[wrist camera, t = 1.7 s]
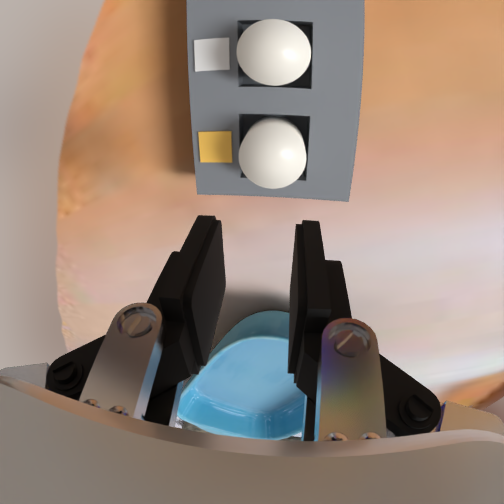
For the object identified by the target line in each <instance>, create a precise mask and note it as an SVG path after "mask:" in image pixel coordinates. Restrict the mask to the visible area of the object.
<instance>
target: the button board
mask: <svg viewBox="0 0 504 504" xmlns="http://www.w3.org/2000/svg"><path fill="white" fill-rule="evenodd" d="M266 19H280V20H284V21H287V22H290V23H292V24H294V25H295V26H297V27H298V28H299V29H300V30H301V31H302V32H303V33H304V34H305V35H306V37H307V39H308V41H309V44H310V47H311V59H310V63H309V65H308V67H307V69H306V71H305V72H304V73H303V74H302V75H301V76H300V77H299V78H297V79H296V80H294V81H293V82H290V83H288V84H284V85H278V86H272V85H265V84H262V83H259V82H257V81H255V80H253V79H251V78H250V77H249V76H248V75H247V74H246V73H245V72H244V71H243V70H242V68H241V67H240V65H239V62H238V59H237V44H238V41H239V39H240V37H241V35H242V34H243V32H244V31H245V30H246V29H247V28H248V27H250V26H251V25H253V24H254V23H256V22H259V21H262V20H266ZM187 47H188V73H189V93H190V110H191V125H192V139H193V152H194V164H195V176H196V186H197V194H202V195H241V196H266V197H286V198H303V199H318V200H332V201H345V202H349V196H350V189H351V183H352V176H353V168H354V161H355V152H356V144H357V135H358V126H359V115H360V104H361V91H362V76H363V57H364V0H187ZM269 116H279V117H283V118H286V119H288V120H290V121H291V122H293V123H294V124H295V125H296V126H297V127H298V128H299V130H300V132H301V134H302V137H303V141H304V146H305V150H306V165H305V168H304V171H303V172H302V174H301V176H300V177H299V178H298V179H297V180H296V181H295V182H293V183H292V184H290V185H288V186H286V187H282V188H277V189H270V188H264V187H261V186H258V185H256V184H255V183H253V182H252V181H250V180H249V179H248V178H247V177H246V176H245V174H244V173H243V171H242V169H241V167H240V164H239V149H240V146H241V144H242V142H243V140H244V138H245V136H246V134H247V132H248V130H249V129H250V127H251V126H252V125H253V124H254V123H255V122H256V121H258V120H260V119H262V118H264V117H269Z"/></svg>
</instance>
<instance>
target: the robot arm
mask: <svg viewBox="0 0 504 504" xmlns="http://www.w3.org/2000/svg"><path fill="white" fill-rule="evenodd" d="M225 286H226V278H225V266H224V253H223V239H222V225H221V221H220V220H216V218H215V216H203V215H199V216H198V217H197V219H196V221H195V222H194V224H193V226H192V228H191V230H190V232H189V234H188V236H187V238H186V240H185V242H184V244H183V246H182V248H181V250H180V252H177V251H174V252H172V253H171V255H170V257H169V259H168V261H167V263H166V265H165V266H164V268H163V270H162V272H161V274H160V276H159V278H158V280H157V282H156V284H155V286H154V288H153V290H152V293H151V295H150V297H149V299H148V301H147V303H134V304H130V305H128V306H126V307H124V308H122V309H121V310H120V311H119V312H118V313H117V314H116V315H115V317H114V318H113V320H112V322H111V325H110V327H109V329H108V331H107V333H106V335H104V336H102V337H100V338H98V339H96V340H94V341H92V342H90V343H88V344H85V345H83V346H81V347H79V348H77V349H75V350H73V351H71V352H69V353H67V354H65V355H63V356H61V357H59V358H58V359H56V360H55V361H54V362H53V363H52V364H51V365H50V366H49V365H48V363H42V364H34V365H26V366H17V367H8V368H4V369H1V370H0V504H504V424H503V422H502V420H501V419H500V418H499V417H498V416H496V415H494V414H492V413H488V412H484V411H480V410H477V409H473V408H470V407H466V406H463V405H460V404H456V403H453V402H450V401H446V402H445V403H441V402H439V400H438V399H437V397H436V396H435V395H434V394H433V393H432V392H431V391H430V390H429V389H427V388H426V387H425V386H423V385H422V384H420V383H419V382H418V381H416V380H415V379H414V378H412V377H411V376H409V375H408V374H407V373H405V372H404V371H403V370H401V369H400V368H398V367H397V366H396V365H394V364H393V363H392V362H390V361H389V360H387V359H386V358H385V357H383V356H382V355H381V354H379V350H378V342H377V338H376V335H375V333H374V332H373V330H372V329H371V328H370V327H369V326H368V325H366V324H365V323H364V322H361V321H359V320H357V319H352V316H351V310H350V305H349V299H348V294H347V288H346V283H345V278H344V273H343V268H342V264H341V261H333V260H325V256H324V249H323V242H322V236H321V229H320V223H319V221H309V220H303V221H302V224H296V229H295V241H294V252H293V263H292V274H291V284H290V308H289V345H288V374H294V383H296V387H297V388H299V389H300V390H301V391H302V392H303V393H304V394H305V403H304V415H303V427H302V437H301V441H283V440H266V439H253V438H243V437H233V436H225V435H218V434H210V433H204V432H198V431H192V430H186V429H181V428H176V427H175V422H176V417H177V412H178V407H179V402H180V397H181V393H182V388H183V380H185V379H187V378H189V377H190V376H191V374H196V375H199V372H200V368H201V366H206V365H207V362H208V358H209V354H210V349H211V345H212V341H213V337H214V333H215V329H216V325H217V321H218V317H219V312H220V308H221V304H222V300H223V296H224V292H225Z"/></svg>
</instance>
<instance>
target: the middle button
mask: <svg viewBox="0 0 504 504" xmlns="http://www.w3.org/2000/svg"><path fill="white" fill-rule="evenodd" d="M237 59H238V62H239V65H240V67H241V68H242V70H243V71H244V72H245V73H246V74H247V75H248V76H249V77H250V78H251V79H253V80H255V81H257V82H259V83H262V84H265V85H272V86H278V85H284V84H288V83H290V82H293V81H294V80H296V79H297V78H299V77H300V76H301V75H302V74H303V73H304V72H305V71H306V69H307V67H308V65H309V63H310V59H311V47H310V44H309V41H308V39H307V37H306V35H305V34H304V33H303V32H302V31H301V30H300V29H299V28H298V27H297V26H295V25H294V24H292V23H290V22H287V21H284V20H280V19H266V20H262V21H259V22H256V23H254V24H253V25H251V26H250V27H248V28H247V29H246V30H245V31H244V32H243V34H242V35H241V37H240V39H239V41H238V44H237Z"/></svg>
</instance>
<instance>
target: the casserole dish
mask: <svg viewBox="0 0 504 504" xmlns="http://www.w3.org/2000/svg"><path fill="white" fill-rule="evenodd" d="M288 345H289V313H287V312H282V311H263V312H258V313H255V314H253V315H250V316H248V317H246V318H245V319H243V320H241V321H240V322H239V323H238V324H236V325H235V326H234V327H233V328H232V329H231V330H230V331H229V332H228V333H227V334H226V335H225V336H224V337H223V339H222V340H221V341H220V342H219V343H218V344H217V346H216V347H215V348H214V349H213V351H212V352H211V353H210V354H209V358H208V362H207V365H206V366H201V368H200V372H199V375H196V374H193V376H192V377H191V378H190V380H189V381H188V382H187V384H186V385H185V387H184V388H183V390H182V393H181V397H180V402H179V407H178V412H177V416H178V417H179V418H180V419H182V420H184V421H186V422H188V423H191V424H193V425H195V426H197V427H199V428H201V429H203V430H205V431H207V432H210V433H213V434H218V435H225V436H233V437H243V438H253V439H266V440H280V439H284V438H288V437H290V436H293V435H296V434H298V433H300V432H302V427H303V415H304V403H305V394H304V393H303V392H302V391H301V390H300V389H299V388H297V387H296V383H294V374H288Z"/></svg>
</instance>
